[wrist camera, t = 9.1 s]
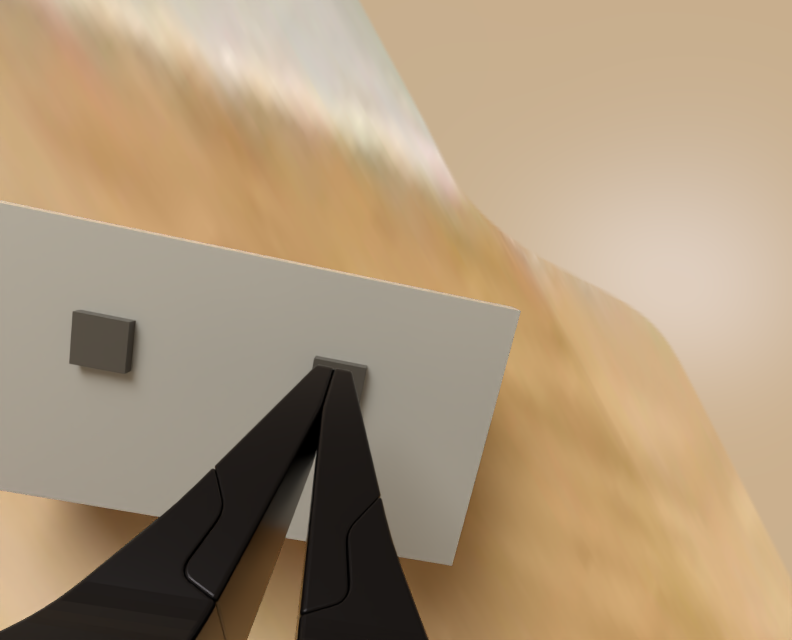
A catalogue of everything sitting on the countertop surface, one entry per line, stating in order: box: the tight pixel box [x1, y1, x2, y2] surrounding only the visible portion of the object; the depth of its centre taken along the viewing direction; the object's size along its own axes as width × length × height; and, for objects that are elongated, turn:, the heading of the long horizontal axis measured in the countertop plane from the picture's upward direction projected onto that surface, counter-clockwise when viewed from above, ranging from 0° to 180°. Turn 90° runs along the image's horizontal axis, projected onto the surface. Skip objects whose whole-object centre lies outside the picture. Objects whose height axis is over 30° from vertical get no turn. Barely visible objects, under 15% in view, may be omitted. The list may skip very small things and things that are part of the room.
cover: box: [0, 200, 521, 566], centre depth 13 cm, size 9×18×1 cm, turn 79°
